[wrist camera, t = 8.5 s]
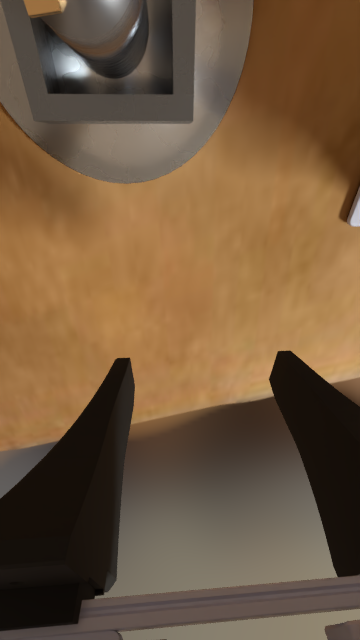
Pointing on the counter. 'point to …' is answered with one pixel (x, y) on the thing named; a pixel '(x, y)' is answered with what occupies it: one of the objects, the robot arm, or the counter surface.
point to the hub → (126, 89)
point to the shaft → (99, 31)
